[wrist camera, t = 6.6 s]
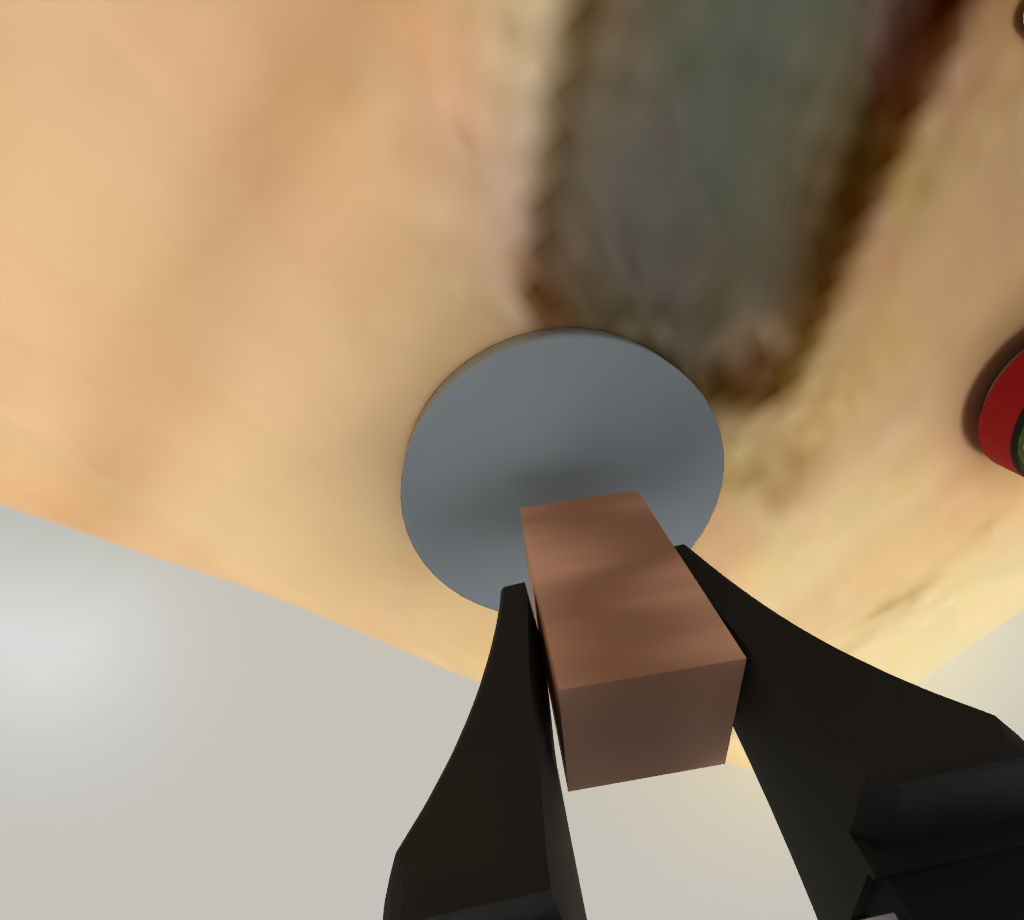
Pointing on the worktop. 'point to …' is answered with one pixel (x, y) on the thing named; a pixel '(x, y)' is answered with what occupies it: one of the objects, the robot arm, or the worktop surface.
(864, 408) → the worktop surface
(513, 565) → the slate base plate
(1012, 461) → the beverage can
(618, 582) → the terracotta block
